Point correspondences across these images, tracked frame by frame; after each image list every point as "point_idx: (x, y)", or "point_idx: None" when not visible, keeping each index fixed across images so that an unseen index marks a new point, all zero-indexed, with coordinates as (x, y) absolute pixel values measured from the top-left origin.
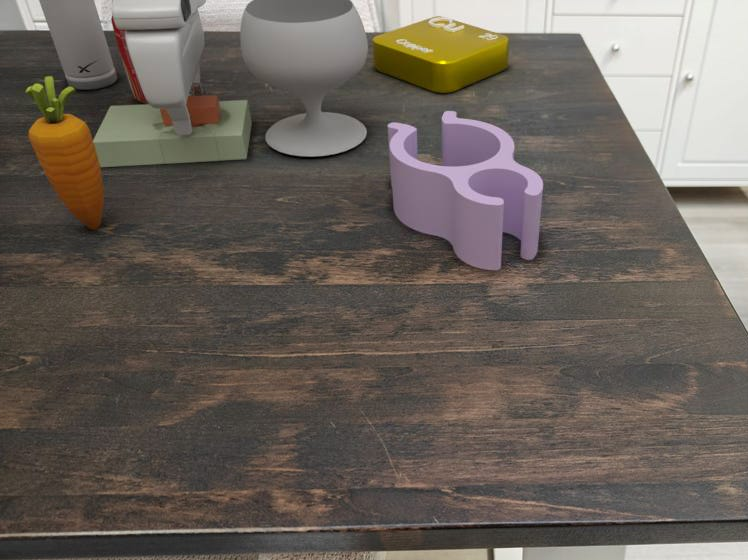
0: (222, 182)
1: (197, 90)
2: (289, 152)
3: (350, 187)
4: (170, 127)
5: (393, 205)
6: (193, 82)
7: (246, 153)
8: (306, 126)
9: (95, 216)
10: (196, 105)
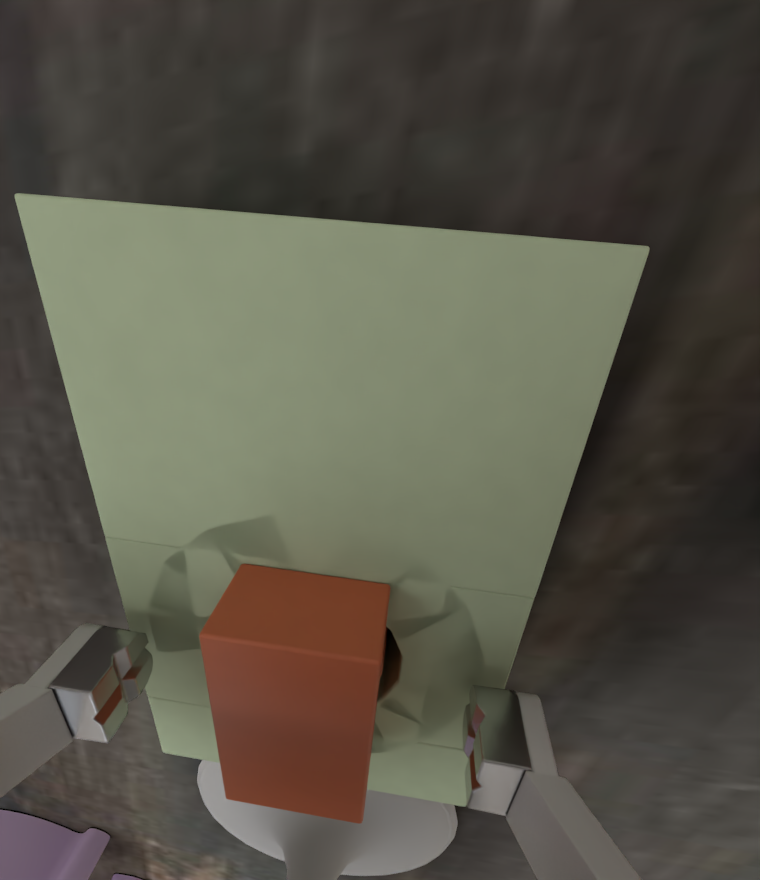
0: (70, 608)
1: (466, 774)
2: None
3: (83, 787)
4: (228, 582)
5: (7, 820)
6: (518, 807)
7: None
8: (288, 835)
9: None
10: (240, 759)
